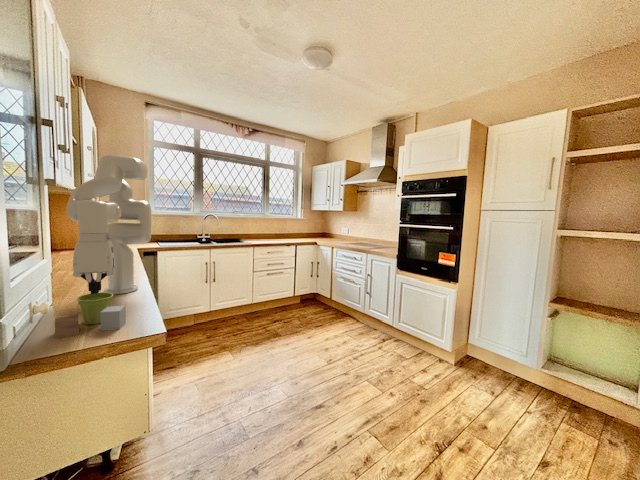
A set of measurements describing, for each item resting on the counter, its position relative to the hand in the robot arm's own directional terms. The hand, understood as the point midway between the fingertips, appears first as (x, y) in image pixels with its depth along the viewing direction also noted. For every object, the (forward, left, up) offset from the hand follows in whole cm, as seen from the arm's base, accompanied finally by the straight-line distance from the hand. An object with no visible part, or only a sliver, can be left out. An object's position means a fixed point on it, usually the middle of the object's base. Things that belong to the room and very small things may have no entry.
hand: (95, 292), depth 88 cm
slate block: (+7, +6, -10) cm, 13 cm away
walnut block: (+8, -5, -10) cm, 14 cm away
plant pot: (0, 0, -10) cm, 10 cm away
